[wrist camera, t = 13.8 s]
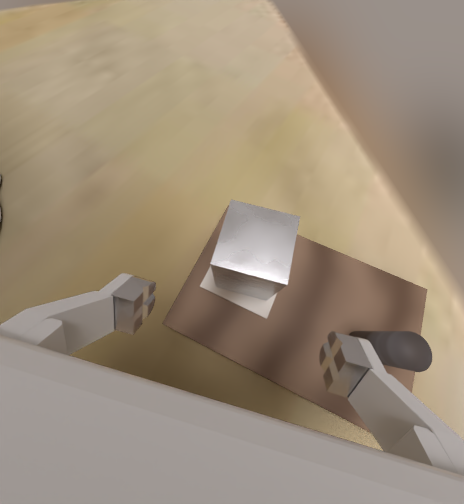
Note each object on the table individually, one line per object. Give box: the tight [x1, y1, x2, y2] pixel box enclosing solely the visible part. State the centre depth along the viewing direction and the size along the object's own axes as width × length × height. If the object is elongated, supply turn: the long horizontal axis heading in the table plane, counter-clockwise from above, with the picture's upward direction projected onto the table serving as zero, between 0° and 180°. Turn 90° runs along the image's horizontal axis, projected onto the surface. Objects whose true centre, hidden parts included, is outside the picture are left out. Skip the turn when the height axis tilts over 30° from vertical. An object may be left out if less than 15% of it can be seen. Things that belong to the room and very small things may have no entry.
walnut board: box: [162, 206, 432, 433], centre depth 18 cm, size 22×14×8 cm, turn 65°
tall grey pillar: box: [210, 200, 300, 301], centre depth 18 cm, size 5×5×8 cm
